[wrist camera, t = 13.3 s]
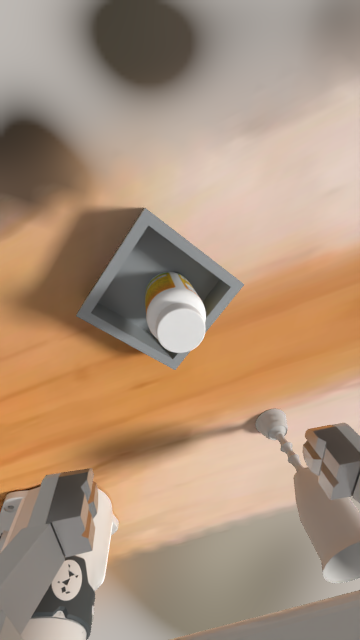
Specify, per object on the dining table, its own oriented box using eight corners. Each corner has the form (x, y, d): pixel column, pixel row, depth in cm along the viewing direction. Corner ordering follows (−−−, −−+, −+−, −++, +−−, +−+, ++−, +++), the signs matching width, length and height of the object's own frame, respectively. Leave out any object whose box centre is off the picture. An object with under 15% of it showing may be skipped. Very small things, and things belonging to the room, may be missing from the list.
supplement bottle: (141, 313, 30) (143, 358, 21) (148, 267, 28) (152, 295, 19) (187, 319, 31) (206, 363, 23) (196, 274, 29) (221, 304, 21)
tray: (170, 350, 34) (175, 370, 30) (84, 300, 30) (76, 315, 26) (230, 274, 31) (244, 284, 27) (144, 207, 27) (145, 208, 23)
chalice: (257, 402, 40) (341, 541, 23) (297, 403, 41) (403, 536, 24) (244, 438, 42) (312, 586, 26) (283, 439, 44) (370, 579, 27)
